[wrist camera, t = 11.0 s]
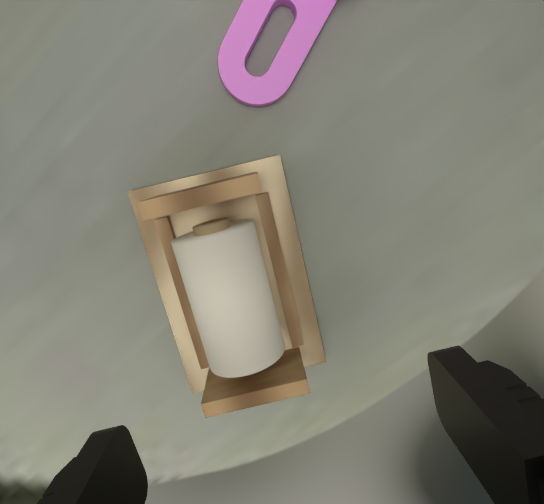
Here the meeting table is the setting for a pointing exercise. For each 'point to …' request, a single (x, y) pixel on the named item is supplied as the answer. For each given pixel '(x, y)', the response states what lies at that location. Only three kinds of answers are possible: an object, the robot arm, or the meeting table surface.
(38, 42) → the meeting table surface
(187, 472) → the meeting table surface
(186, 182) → the cradle
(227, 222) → the roll
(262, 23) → the bracket
